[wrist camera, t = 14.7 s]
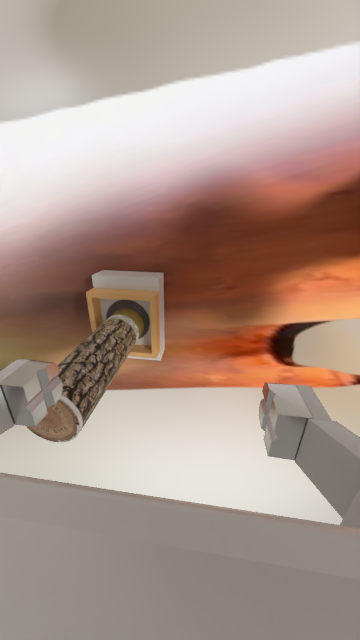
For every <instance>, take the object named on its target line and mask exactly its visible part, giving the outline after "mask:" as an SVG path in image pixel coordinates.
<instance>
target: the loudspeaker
mask: <svg viewBox="0 0 360 640" xmlns="http://www.w3.org/2000/svg"><path fill="white" fill-rule="evenodd" d="M92 281H93V288H92V289H91V290H89V291H87V292H86V297H87V304H88V310H89V317H90V323H91V330H92V333H93V332H94V331H95V330H96V329H97V328H98V327H100V326H101V325H102V324H103V323H104V322H105V321H106V320H107V319H108V318H109V317H110V316H112V315H113V314H114V313H115V312H116V311H117V310H119V309H123V308H129V309H132V310H134V311H136V312H137V313H138V314H139V315H140V316H141V317H142V319H143V322H144V329H143V332H142V334H141V335H140V337H139V339H138V340H137V342H136V344H135V345H134V347H133V348H132V350H131V351H130V353H129V355H128V356H127V358H135V359H147V360H158V361H160V360H161V357H162V355H163V352H164V349H165V336H164V273H161V272H137V271H113V270H102V271H100V272H98V273H95V274H93V275H92Z"/></svg>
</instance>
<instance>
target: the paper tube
mask: <svg viewBox="0 0 360 640" xmlns="http://www.w3.org/2000/svg"><path fill="white" fill-rule="evenodd" d="M143 329H144V322H143V319H142V317H141V316H140V315H139V314H138V313H137V312H136V311H134V310H132V309H129V308H123V309H119V310H117V311H116V312H115V313H114V314H113V315H112V316H110V317H109V318H108V319H107V320H106V321H105V322H104V323H103V324H102V325H101V326H100V327H98V328H97V329H96V330H95V331H94V332H93V333H92V334H91V335H90V336H89V337H88V338H87V339H86V340H84V341H83V342H82V343H81V344H80V345H79V346H78V347H77V348H76V349H75V350H74V351H73V352H72V353H71V354H69V355H68V356H67V357H66V358H65V359H64V360H63V361H62V362H61V363H60V364H59V365H58V367H59V371H60V372H59V374H58V375H57V376H58V377H59V378H60V379H61V380H62V384H63V392H62V394H61V397H60V399H59V400H58V401H57V402H56V404H54V405H53V406H51V407H49V408H48V413H47V414H46V415H45V417H44V418H43V419H42V420H41V421H40V422H39V423H38V425H37V426H27V428H28V429H29V430H31V431H32V432H33V433H35V434H36V435H38V436H39V437H42V438H44V439H46V440H49V441H54V442H67V441H70V440H72V439H74V438H75V437H76V436H77V435H78V433H79V432H80V431H81V429H82V427H83V426H84V424H85V423H86V421H87V420H88V418H89V416H90V415H91V413H92V412H93V410H94V408H95V407H96V405H97V404H98V402H99V401H100V399H101V397H102V396H103V394H104V393H105V391H106V390H107V388H108V386H109V385H110V383H111V382H112V380H113V378H114V377H115V375H116V374H117V372H118V370H119V369H120V367H121V366H122V364H123V363H124V361H125V359H126V358H127V356H128V355H129V353H130V351H131V350H132V348H133V347H134V345H135V344H136V342H137V340H138V339H139V337H140V335H141V334H142V332H143Z"/></svg>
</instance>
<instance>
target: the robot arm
mask: <svg viewBox="0 0 360 640" xmlns="http://www.w3.org/2000/svg"><path fill="white" fill-rule="evenodd" d="M59 372H60V371H59V367H58V365H57V364H56V363H53V362H44V361H36V360H26V359H19V360H15V361H14V362H13V363H11V364H10V365H8V366H7V367H5V368H4V369H3V370H1V371H0V434H2V433H3V432H5V431H7V430H8V429H10V428H11V427H13V426H14V424H15V425H25V426H37V425H38V423H39V422H40V421H41V420H42V419H43V418H44V417H45V415H46V414H47V413H48V408H49V407H51V406H53V405H54V404H56V402H57V401H58V400H59V399H60V397H61V394H62V392H63V384H62V380H61V379H60V378H59V377H58V376H57V375H58V374H59ZM263 394H264V399H262V400H261V402H260V407H259V418H260V425H261V428H262V429H263V430H264V431H265V436H264V442H265V445H266V450H267V454H268V456H270V457H277V458H283V459H290V460H295V462H296V464H297V465H298V466H299V467H300V468H301V470H303V472H304V473H305V474H306V475H307V477H308V478H309V479H310V480H311V481H312V483H313V484H314V485H315V486H316V487H317V489H318V490H319V491H320V492H321V493H322V495H323V496H324V497H325V498H326V499H327V500H328V502H329V503H330V504H331V505H332V506H333V508H334V509H335V510H336V511H337V512H338V514H339V515H340V516H341V517H342V518H343V521H342V523H341V524H340V525H334V524H328V523H322V522H315V521H308V520H303V519H296V518H290V517H283V516H277V515H270V514H264V513H257V512H251V511H244V510H238V509H232V508H225V507H218V506H212V505H205V504H199V503H192V502H185V501H179V500H173V499H166V498H160V497H153V496H146V495H140V494H133V493H127V492H121V491H114V490H108V489H101V488H95V487H89V486H82V485H76V484H69V483H63V482H57V481H50V480H43V479H37V478H31V477H24V476H18V475H12V474H5V473H0V640H360V437H358V436H357V435H355V434H354V433H353V432H351V431H350V430H348V429H347V428H346V427H344V426H343V425H341V424H340V423H338V422H337V421H332V420H331V418H330V417H329V415H328V414H327V412H326V410H325V409H324V407H323V405H322V404H321V402H320V400H319V399H318V397H317V396H316V394H315V392H314V391H313V389H312V387H310V386H308V385H288V384H276V383H265V384H264V386H263Z"/></svg>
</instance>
